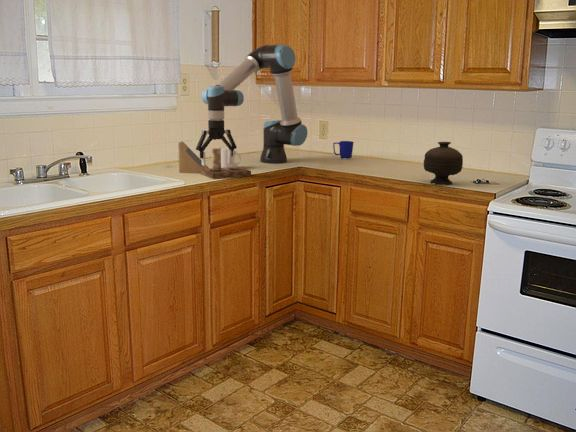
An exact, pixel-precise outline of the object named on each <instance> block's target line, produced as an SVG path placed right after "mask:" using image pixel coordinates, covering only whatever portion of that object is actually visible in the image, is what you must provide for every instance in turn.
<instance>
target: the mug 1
mask: <svg viewBox="0 0 576 432" xmlns="http://www.w3.org/2000/svg"><path fill="white" fill-rule="evenodd" d="M218 148H219V149H221V168H226V167H239V166H240V164H241V162H242V161H241V160H242V159H241V155H240V153H239V152H238V151H236V150H235V149H234V150H233V157H231V164H229V163H228V150H229V148H228V147H227V146H219V147H218ZM235 155H236V156H238V157H239V161H238V162H236V161H235V160H236V159H235Z"/></svg>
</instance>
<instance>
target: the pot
mask: <svg viewBox="0 0 576 432" xmlns="http://www.w3.org/2000/svg"><path fill="white" fill-rule="evenodd" d="M437 144H438V145H439V146H436V147H433V148H430V149H429V150H427V151H426V152H425V154H424V160H423V169H424V170H425V172H428V173H431V174H433V175H435V177H434V178H433V179H431V180H430V182H431V183H430V182H429V183H430V184H432V183H435V184H434V185H437V184H452V185H453V181H451V180H450V179H449V176H455V175H457V174H459V173H461V171H462V169H463V167H464V159H463V154H462V153H461V152H460V151H459V150H458V149H456V148H453V147H450V146H449V145H451V144H452V142H451V141H439V142H437Z"/></svg>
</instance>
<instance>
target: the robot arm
mask: <svg viewBox="0 0 576 432" xmlns="http://www.w3.org/2000/svg"><path fill="white" fill-rule="evenodd" d="M296 59H297V58H296V54H295V51H294V50H293V48H292V47H290V45H286V44H266V45H261V46H259V47H257V48H256V49H254V50H253V51H251V52H249V53H248V54H246V56H245V57H244V59H243V61H242V62H241V63H240V64H239V65H237V66H236V67H235V68H234V69H233V70H232V71H230V73H228V74H227V75H225V77H223V79H221V80H220V81H219V82H218V83H216V85H210V86H208V88H206V89H204V90H203V91H202V92H201V93H202V94H201V99H202V102H203V103H204V104H206V105H207V118H208V119H209V120H208V122H207V123H208V124H207V125H208V129H207V130H204V129H202V131H201V135H200V137H199V140H198V143H197V145H196V147H195V150H196V151H199V158H200V159H201V160H202V165H203V166H205V164H206V151H205V150H206V149H207V147H208V146H209V144H210V143H211V142H212V141H216V140H221V141H222V142H223V143H224V145H225V147H228V148H229V150H228V163H229V164H231V157H233V150H234V149H237V147H238V146H237V144H236V142H235V139H234V137H233V136H232V133H231V129H225V107H239V106H241V105H243V103H244V102H245V101H244V99H245V98H244V97H245V96H244V93H243V92H242V91H241V90H239V89H238V90H237V87H239V86H240V85H241V84H242V83H243V82H244V81H246V79H248V78H249V77H250V76H251V75H253V74H254V73H258V72H259V71H260V70H263V69H269V71H270V74H271V75H272V76H273V79H274V82H275V89H276V93H277V100H278V104H279V109H280V116H281V119H279V120H268V121H267V120H266V121H264V123H263V148H262V151H261V153H260V157H259V159H260V160H259V161H260V162H261V163H264V164H266V163H267V164H284V163H287V161H288V158H287V154H286V151H285V150H286V149H285V145H288V146H292V147H295V146H296V147H299V146H302V145H303V144H304V143H305V142H306V139H307V137H308V128H307V126H306V125H305V124H302V119H301V117H299V116H298V111H297V106H296V98H295V93H294V87H293V81H292V77H291V73H292V71H293V67H294V66H295V64H296ZM224 135H226V136H227V138H226V137H225V136H224ZM206 137H207V138H206ZM228 140H229V141H228Z"/></svg>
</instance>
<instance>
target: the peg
mask: <svg viewBox="0 0 576 432" xmlns="http://www.w3.org/2000/svg"><path fill="white" fill-rule="evenodd" d="M211 164H212V165H211V168H212V172H220V171H221V149H219V147H217V148H216V147H215V148H212V149H211Z"/></svg>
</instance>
